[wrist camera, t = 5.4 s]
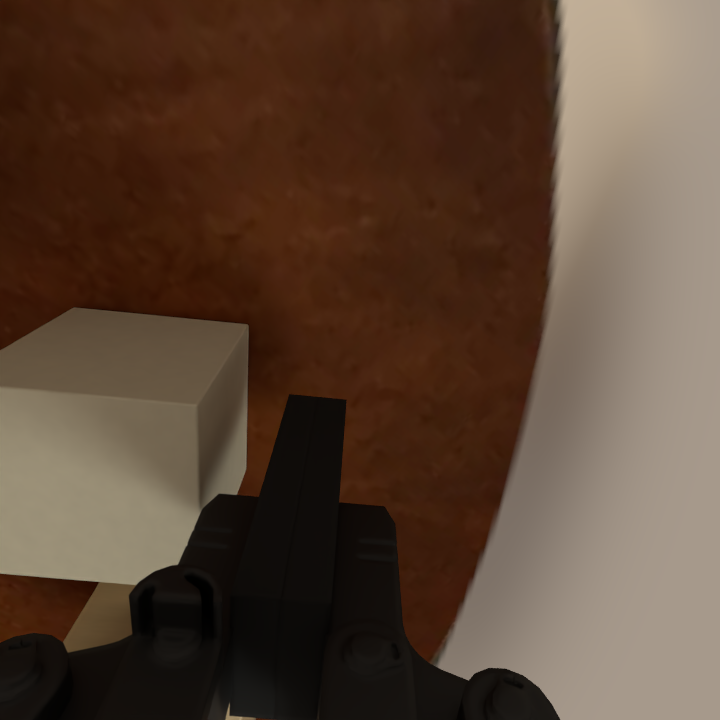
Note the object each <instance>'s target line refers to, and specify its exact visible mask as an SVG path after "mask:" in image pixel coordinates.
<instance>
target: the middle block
mask: <svg viewBox="0 0 720 720" xmlns="http://www.w3.org/2000/svg"><path fill="white" fill-rule="evenodd" d="M248 340H249V326H248V324H239V323H229V322H219V321H209V320H198V319H188V318H178V317H168V316H157V315H147V314H137V313H126V312H116V311H106V310H96V309H85V308H75V307H74V308H72V309H70V310H69V311H67V312H65V313H63V314H62V315H60V316H58V317H57V318H55V319H53V320H51V321H50V322H48V323H46V324H45V325H43V326H41V327H39V328H38V329H36V330H34V331H33V332H31V333H29V334H27V335H26V336H24V337H22V338H21V339H19V340H17V341H15V342H14V343H12V344H10V345H9V346H7V347H5V348H3V349H2V350H0V573H1V574H12V575H24V576H36V577H48V578H59V579H71V580H83V581H94V582H106V583H118V584H130V585H137V584H138V582H139V581H141V580H142V579H144V578H145V577H147V576H148V575H150V574H151V573H152V572H154V571H157V570H160V569H163V568H165V567H168V566H171V565H178V563H179V561H180V559H181V556H182V554H183V552H184V549H185V547H186V546H187V544H188V540H189V538H190V536H191V533H192V531H194V527H195V524H196V522H197V520H198V517H199V515H200V513H201V511H202V508H203V507H205V506H206V505H207V504H208V503H209V502H210V501H211V500H212V499H214V498H215V497H216V496H217V495H218V494H231V495H237V493H238V490H239V487H240V485H241V482H242V479H243V477H244V474H245V471H246V455H247V398H248Z"/></svg>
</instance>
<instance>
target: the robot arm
mask: <svg viewBox="0 0 720 720" xmlns="http://www.w3.org/2000/svg"><path fill="white" fill-rule="evenodd" d="M345 413H346V400H343V399H333V398H322V397H312V396H301V395H290V394H289V397H288V401H287V404H286V407H285V411H284V414H283V418H282V421H281V424H280V428H279V431H278V435H277V438H276V441H275V445H274V448H273V452H272V455H271V458H270V462H269V465H268V469H267V472H266V475H265V479H264V482H263V486H262V489H261V492H260V496H259V497H253V496H242V495H231V494H218V495H217V496H216V497H215V498H214V499H212V500H211V501H210V502H209V503H208V504H207V505H206V506H205V507H203V508H202V511H201V513H200V515H199V517H198V520H197V522H196V524H195V527H194V531H192V533H191V536H190V538H189V540H188V544H187V546H186V547H185V549H184V552H183V554H182V556H181V559H180V561H179V563H178V565H171V566H168V567H165V568H163V569H160V570H157V571H154V572H152V573H151V574H150V575H148V576H147V577H145V578H144V579H142V580H141V581H139V582H138V584H137V585H136V586H135V588H134V589H133V590H132V591H131V593H130V594H129V604H130V615H131V625H132V634H131V635H129V636H127V637H125V638H123V639H121V640H119V641H116V642H113V643H109V644H106V645H102V646H97V647H92V648H87V649H83V650H78V651H73V652H67V650H66V648H65V645H64V643H63V642H61V641H60V640H58V639H57V638H55V637H53V636H52V635H46V634H38V633H32V634H26V635H21V636H16V637H12V638H10V639H8V640H6V641H4V642H1V643H0V720H225V719H226V715H227V711H228V707H229V702H230V712H229V716H237V717H250V718H263V719H276V720H560V718H559V717H558V715H557V713H556V711H555V709H554V708H553V706H552V704H551V703H550V701H549V700H548V699H547V697H546V696H545V695H544V693H543V692H542V691H541V690H540V688H539V687H537V686H536V685H535V684H533V683H532V682H531V681H530V680H528V679H527V678H526V677H524V676H523V675H520V674H518V673H515V672H513V671H510V670H507V669H499V668H488V669H486V670H483V671H480V672H478V673H475V674H474V675H473V676H472V678H471V679H470V680H469V681H468V680H466V679H463V678H460V677H458V676H456V675H453V674H451V673H448V672H446V671H443V670H441V669H439V668H437V667H435V666H433V665H431V664H430V663H428V662H427V661H426V660H425V659H423V658H422V657H421V656H420V655H418V653H417V652H416V651H415V650H414V648H413V647H412V646H411V645H410V643H409V641H408V639H407V637H406V635H405V631H404V627H403V620H402V607H401V594H400V581H399V567H398V554H397V547H396V544H397V541H396V527H395V523H394V521H393V519H392V518H391V516H390V515H389V513H388V511H387V510H386V508H385V507H384V506H373V505H361V504H350V503H339V494H340V481H341V467H342V453H343V440H344V426H345Z"/></svg>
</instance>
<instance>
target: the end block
mask: <svg viewBox="0 0 720 720" xmlns="http://www.w3.org/2000/svg"><path fill="white" fill-rule="evenodd" d="M135 586H136V585H130V584H118V583H106V582H99V584H98V585H97V587H96V589H95V590H94V592H93V594H92V595H91V597H90V599H89V600H88V602H87V604H86V605H85V607H84V609H83V610H82V612H81V614H80V615H79V617H78V619H77V620H76V622H75V624H74V625H73V627H72V629H71V630H70V632H69V633H68V635H67V637H66V638H65V640H64V642H63V643H64V645H65V648H66V650H67V652H73V651H78V650H83V649H87V648H92V647H97V646H102V645H106V644H109V643H113V642H116V641H119V640H121V639H123V638H125V637H127V636H129V635H131V634H132V625H131V615H130V604H129V594H130V593H131V591H132V590H133V589H134V588H135ZM229 712H230V702H229V707H228V711H227V715H226V719H225V720H255V719H256V718H250V717H237V716H229Z"/></svg>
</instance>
